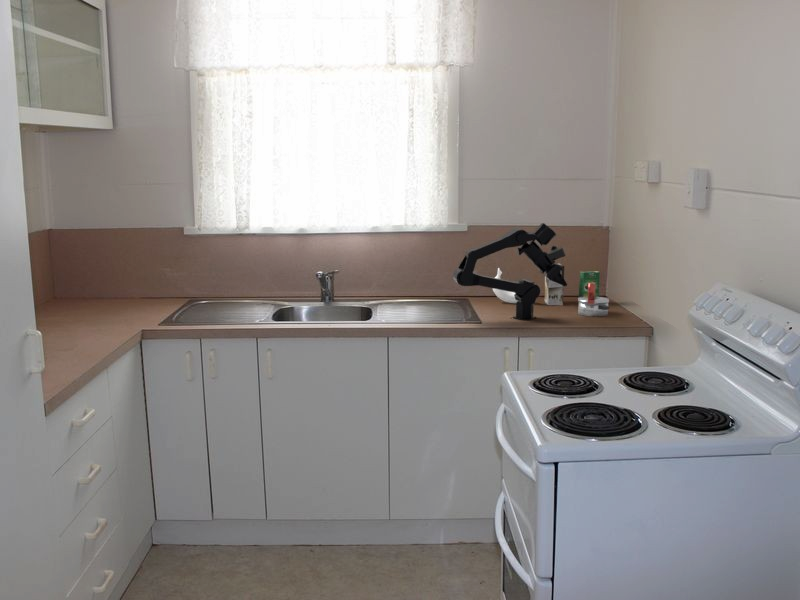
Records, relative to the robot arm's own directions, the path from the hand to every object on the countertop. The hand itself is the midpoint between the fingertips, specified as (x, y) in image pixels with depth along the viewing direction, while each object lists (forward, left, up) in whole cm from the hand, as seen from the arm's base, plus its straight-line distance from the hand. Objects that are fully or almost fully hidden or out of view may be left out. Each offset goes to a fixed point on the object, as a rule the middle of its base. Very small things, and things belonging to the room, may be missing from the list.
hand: (565, 284), depth 300 cm
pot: (+15, -3, -13) cm, 19 cm away
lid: (+13, -4, -8) cm, 16 cm away
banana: (+10, +31, -13) cm, 35 cm away
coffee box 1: (+21, +20, -13) cm, 32 cm away
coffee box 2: (+31, +10, -13) cm, 35 cm away
